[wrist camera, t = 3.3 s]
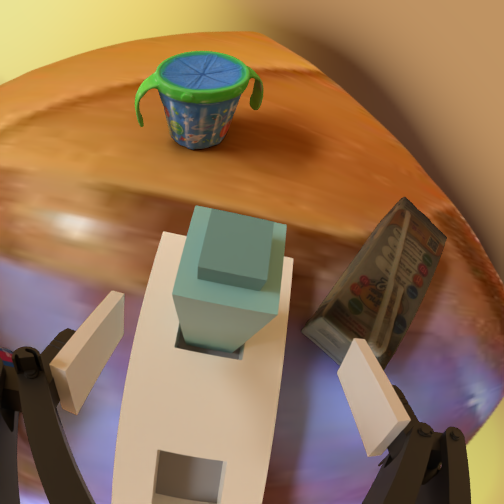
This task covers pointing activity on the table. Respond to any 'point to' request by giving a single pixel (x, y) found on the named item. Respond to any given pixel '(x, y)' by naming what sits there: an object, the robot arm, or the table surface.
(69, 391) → the robot arm
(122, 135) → the table surface
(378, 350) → the beverage carton
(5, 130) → the table surface
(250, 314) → the plug
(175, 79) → the sippy cup
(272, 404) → the socket panel
